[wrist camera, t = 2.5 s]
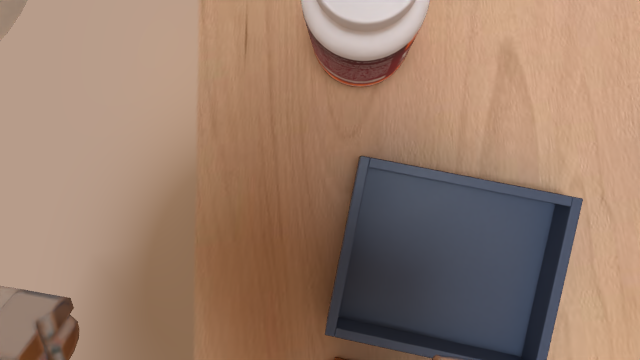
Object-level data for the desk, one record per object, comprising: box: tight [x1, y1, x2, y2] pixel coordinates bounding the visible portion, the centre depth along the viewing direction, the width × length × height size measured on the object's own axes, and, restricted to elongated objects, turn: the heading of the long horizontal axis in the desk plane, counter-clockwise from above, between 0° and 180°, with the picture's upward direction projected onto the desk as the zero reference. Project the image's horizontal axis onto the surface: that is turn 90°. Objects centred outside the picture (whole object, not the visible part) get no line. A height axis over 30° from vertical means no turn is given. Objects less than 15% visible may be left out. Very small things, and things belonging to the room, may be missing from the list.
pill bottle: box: [301, 0, 430, 87], centre depth 24 cm, size 6×6×11 cm
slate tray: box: [325, 156, 583, 360], centre depth 28 cm, size 13×11×3 cm
